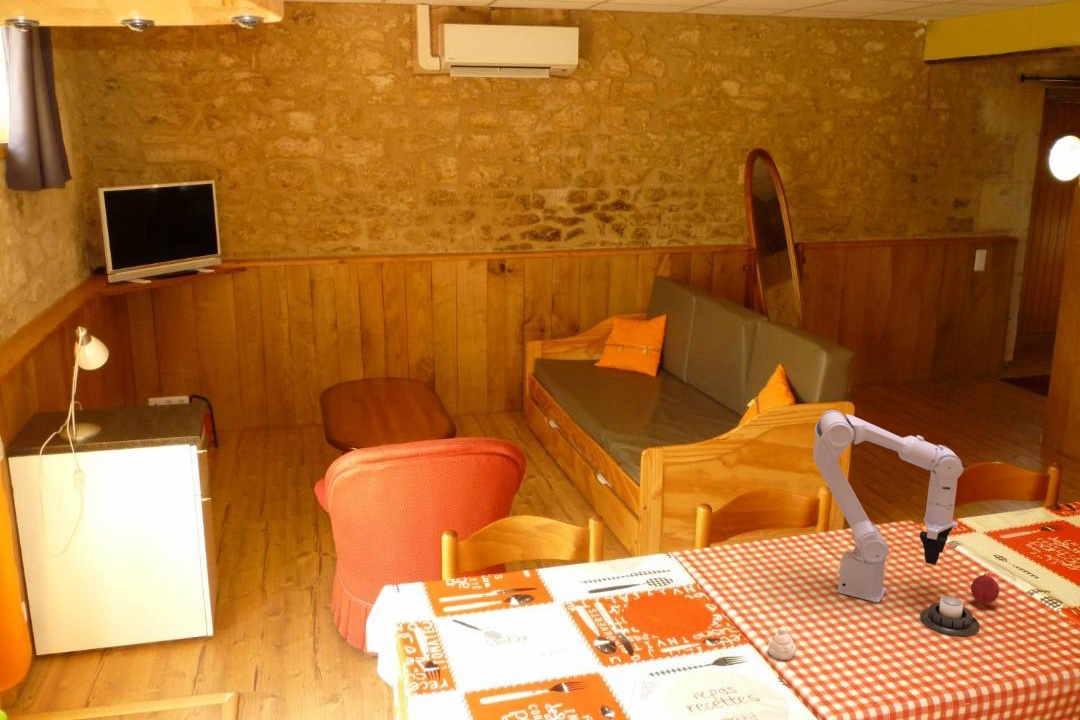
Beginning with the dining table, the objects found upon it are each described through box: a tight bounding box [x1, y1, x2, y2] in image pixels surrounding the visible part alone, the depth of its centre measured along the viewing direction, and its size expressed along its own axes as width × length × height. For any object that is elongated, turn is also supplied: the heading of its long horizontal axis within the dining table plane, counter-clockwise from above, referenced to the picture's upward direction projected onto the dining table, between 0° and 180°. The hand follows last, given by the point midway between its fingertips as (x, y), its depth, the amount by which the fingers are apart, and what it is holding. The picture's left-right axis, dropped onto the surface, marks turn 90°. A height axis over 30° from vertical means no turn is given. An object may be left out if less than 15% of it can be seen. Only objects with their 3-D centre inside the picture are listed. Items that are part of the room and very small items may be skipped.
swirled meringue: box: [767, 625, 797, 661], centre depth 195 cm, size 6×6×5 cm
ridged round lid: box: [919, 601, 981, 638], centre depth 209 cm, size 12×12×3 cm
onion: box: [970, 570, 1000, 606], centre depth 216 cm, size 6×6×8 cm
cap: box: [939, 595, 964, 619], centre depth 208 cm, size 5×5×5 cm
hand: (934, 557), depth 218 cm, fingers open, 7 cm apart
